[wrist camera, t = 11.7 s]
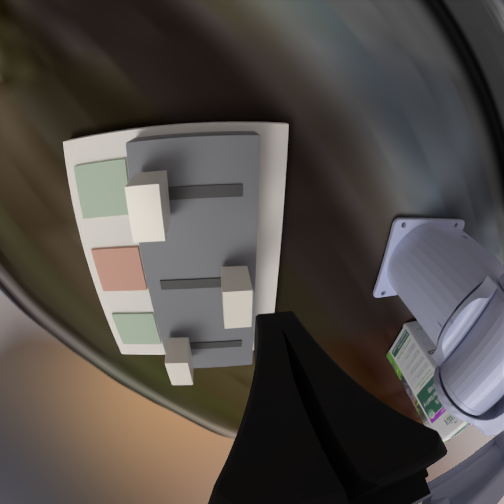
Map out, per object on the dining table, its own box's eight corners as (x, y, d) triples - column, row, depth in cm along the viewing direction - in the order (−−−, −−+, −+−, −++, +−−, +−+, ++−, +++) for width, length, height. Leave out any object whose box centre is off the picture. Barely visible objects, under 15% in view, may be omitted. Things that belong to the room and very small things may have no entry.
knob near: (166, 170, 14) (158, 183, 12) (171, 220, 15) (165, 240, 13) (137, 172, 13) (124, 186, 11) (143, 221, 15) (133, 242, 13)
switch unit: (284, 122, 16) (299, 127, 14) (268, 340, 26) (274, 366, 23) (69, 139, 14) (46, 148, 12) (123, 346, 24) (118, 371, 22)
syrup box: (403, 321, 28) (466, 422, 16) (436, 316, 29) (496, 402, 17) (384, 354, 31) (433, 449, 19) (417, 347, 32) (466, 430, 20)
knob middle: (247, 265, 17) (252, 290, 15) (246, 301, 19) (251, 326, 17) (220, 266, 17) (222, 292, 15) (222, 302, 18) (224, 328, 16)
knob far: (188, 337, 20) (187, 363, 18) (193, 360, 21) (193, 384, 19) (167, 337, 19) (164, 363, 17) (173, 360, 21) (172, 385, 19)
